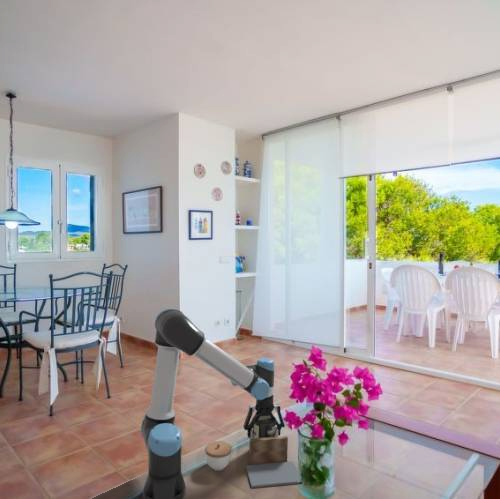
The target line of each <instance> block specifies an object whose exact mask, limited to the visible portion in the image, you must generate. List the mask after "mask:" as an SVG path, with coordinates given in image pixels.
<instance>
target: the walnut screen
mask: <svg viewBox="0 0 500 499" xmlns="http://www.w3.org/2000/svg"><path fill="white" fill-rule="evenodd" d="M288 441H289V438H288V436H287V435H284V436H278V437H269V438H256V439H250V438H249V442H250V443H249V450H248V452H249V453H248V463H249V465H258V464H269V463H281V462H288V448H289V447H288V445H289V444H288V443H289V442H288Z"/></svg>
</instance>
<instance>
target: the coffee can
mask: <svg viewBox="0 0 500 499" xmlns="http://www.w3.org/2000/svg"><path fill="white" fill-rule="evenodd" d="M275 419H276V420H277V418H276V417H275ZM276 420H273V419H272V418H271V416H270V415H268V416H260V418H259V419H258V420H257V421H254V420H253V421H254V426H253V428H252V431H253V439H256V438H269V437H275V431H276V427H277V426H276Z"/></svg>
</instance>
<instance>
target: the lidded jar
mask: <svg viewBox="0 0 500 499" xmlns="http://www.w3.org/2000/svg"><path fill="white" fill-rule="evenodd" d="M232 450H233V449H232V446H231V444H230V443H228V442H226V441H222V440H215V441H212V442H209V443H208V444H206V446H205V449H204V452H205V453H204V454H205V456H204V457H205V461H206V464H207V465H208V467H210V469H211V468H212V469H211V470H213V469H214V470H213V471H216V472H218V471H219V472H220V471H223V470H225V468H226V467H227V466H228V465H229V464H230V461H231V458H232ZM217 470H218V471H217Z"/></svg>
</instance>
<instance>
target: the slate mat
mask: <svg viewBox="0 0 500 499" xmlns="http://www.w3.org/2000/svg"><path fill="white" fill-rule="evenodd" d="M245 470H246V474H247V477H248V480H249V483H250V484H249V485H250V487H251V489H252V488H253V489H254V488H264V487H273V486H275V487H276V486H283V485H295V484H299V483H298V472H299V471H298V468H297V466H296V464H295V463H294V461H285V462H273V463H261V464H249V465H245Z"/></svg>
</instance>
